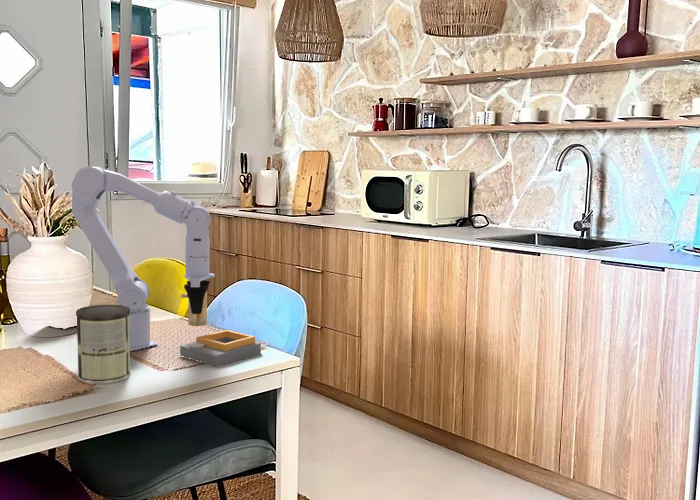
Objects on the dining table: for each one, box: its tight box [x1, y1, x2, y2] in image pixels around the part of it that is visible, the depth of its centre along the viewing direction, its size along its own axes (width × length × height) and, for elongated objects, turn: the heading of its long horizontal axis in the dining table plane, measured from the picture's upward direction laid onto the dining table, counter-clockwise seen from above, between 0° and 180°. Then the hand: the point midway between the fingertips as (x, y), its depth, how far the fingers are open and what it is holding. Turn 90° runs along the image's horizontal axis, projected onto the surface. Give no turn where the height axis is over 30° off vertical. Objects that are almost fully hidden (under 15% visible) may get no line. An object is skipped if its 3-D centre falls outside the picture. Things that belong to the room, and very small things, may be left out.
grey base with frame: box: [179, 329, 262, 368], centre depth 154 cm, size 14×12×4 cm
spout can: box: [181, 291, 208, 327], centre depth 161 cm, size 6×4×8 cm
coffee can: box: [76, 304, 131, 385], centre depth 135 cm, size 10×10×14 cm
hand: (197, 311), depth 161 cm, fingers closed on spout can, 4 cm apart
